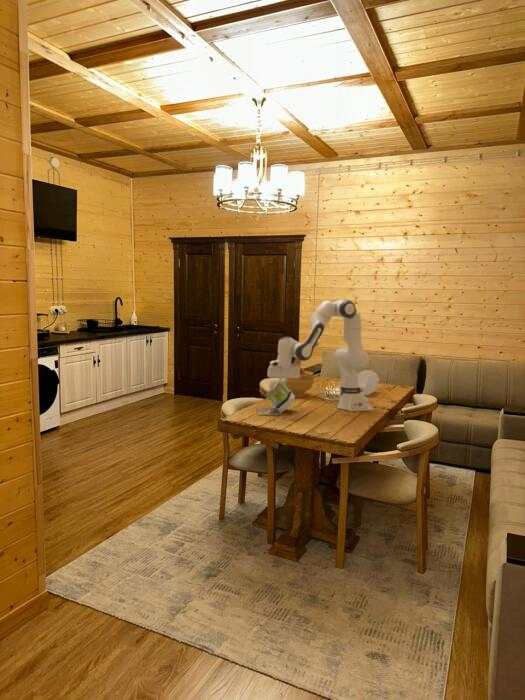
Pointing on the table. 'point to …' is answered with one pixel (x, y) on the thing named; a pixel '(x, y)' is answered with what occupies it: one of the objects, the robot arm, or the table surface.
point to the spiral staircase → (368, 381)
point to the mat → (274, 412)
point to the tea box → (280, 396)
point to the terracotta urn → (300, 382)
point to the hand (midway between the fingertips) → (283, 385)
